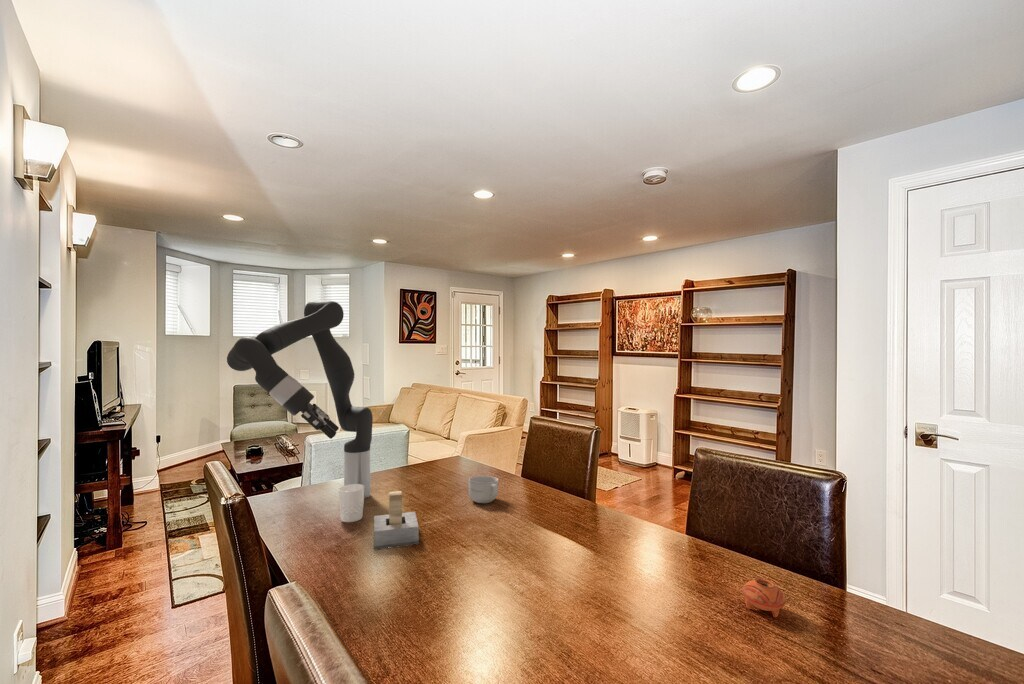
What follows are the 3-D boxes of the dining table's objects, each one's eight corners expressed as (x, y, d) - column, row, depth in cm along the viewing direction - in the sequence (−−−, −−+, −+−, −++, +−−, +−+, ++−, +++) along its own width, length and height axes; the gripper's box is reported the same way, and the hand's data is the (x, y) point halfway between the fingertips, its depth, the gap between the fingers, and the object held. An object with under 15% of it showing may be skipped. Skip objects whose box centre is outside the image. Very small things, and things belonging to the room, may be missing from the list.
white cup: (368, 514, 150) (368, 484, 150) (357, 523, 142) (357, 491, 142) (345, 513, 151) (345, 483, 151) (334, 522, 143) (333, 491, 143)
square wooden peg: (389, 533, 132) (389, 492, 132) (401, 531, 133) (401, 490, 133) (389, 537, 129) (389, 495, 129) (401, 536, 130) (401, 494, 130)
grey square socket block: (374, 532, 135) (374, 515, 135) (415, 527, 139) (414, 511, 139) (374, 549, 124) (374, 531, 124) (418, 544, 127) (418, 526, 127)
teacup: (464, 498, 166) (464, 476, 166) (491, 494, 170) (491, 472, 170) (477, 510, 153) (477, 487, 153) (507, 506, 157) (507, 482, 158)
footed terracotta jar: (743, 593, 101) (751, 565, 100) (782, 614, 96) (791, 585, 95) (734, 608, 94) (742, 579, 94) (776, 631, 90) (785, 601, 89)
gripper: (298, 387, 121) (343, 428, 124) (305, 383, 135) (346, 420, 138) (276, 408, 120) (322, 448, 123) (286, 402, 133) (327, 438, 136)
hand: (335, 433), depth 130 cm, fingers open, 8 cm apart
